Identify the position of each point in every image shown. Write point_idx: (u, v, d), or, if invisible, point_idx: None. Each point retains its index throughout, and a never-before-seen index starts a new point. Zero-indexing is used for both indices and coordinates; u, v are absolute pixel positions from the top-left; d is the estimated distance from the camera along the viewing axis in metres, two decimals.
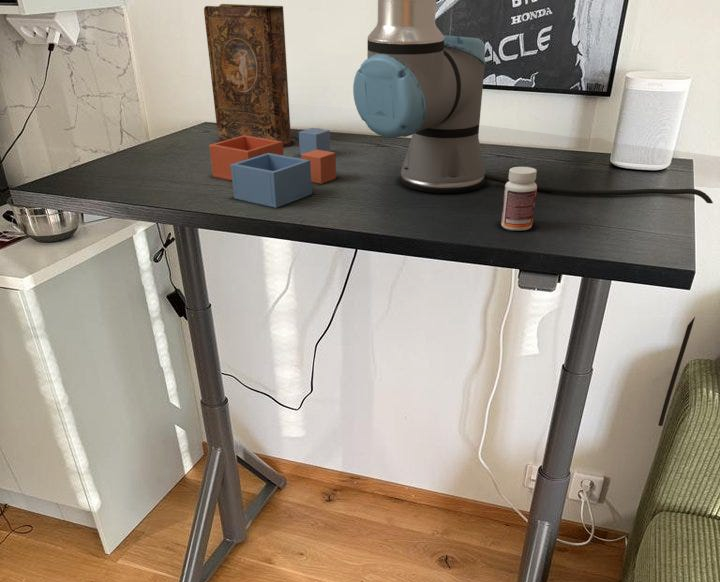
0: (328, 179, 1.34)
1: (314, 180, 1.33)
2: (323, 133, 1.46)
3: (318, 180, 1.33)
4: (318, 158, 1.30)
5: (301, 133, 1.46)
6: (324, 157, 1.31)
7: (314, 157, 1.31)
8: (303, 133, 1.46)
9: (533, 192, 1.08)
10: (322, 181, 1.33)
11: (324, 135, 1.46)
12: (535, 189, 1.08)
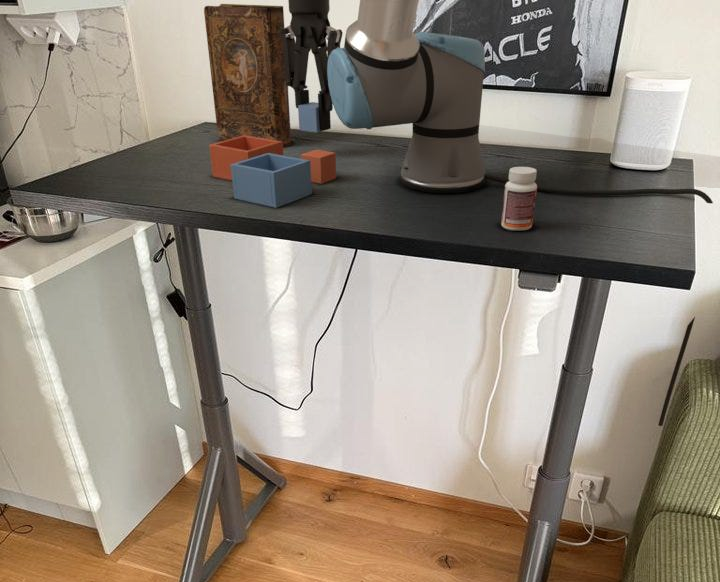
0: (328, 179, 1.34)
1: (314, 180, 1.33)
2: None
3: (318, 180, 1.33)
4: (318, 158, 1.30)
5: (300, 107, 1.43)
6: (324, 157, 1.31)
7: (314, 157, 1.31)
8: (302, 107, 1.43)
9: (533, 192, 1.08)
10: (322, 181, 1.33)
11: None
12: (535, 189, 1.08)
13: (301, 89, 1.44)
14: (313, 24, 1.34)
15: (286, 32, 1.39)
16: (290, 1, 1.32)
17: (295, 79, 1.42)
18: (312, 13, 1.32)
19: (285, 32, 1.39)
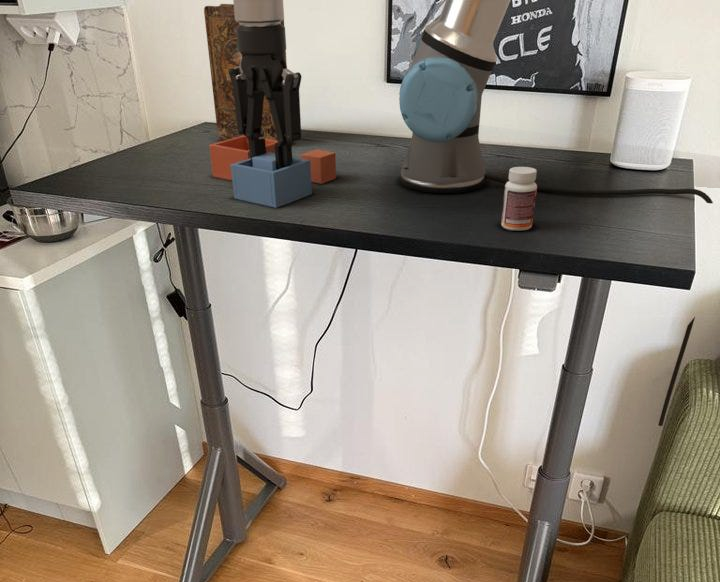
0: (328, 179, 1.34)
1: (314, 180, 1.33)
2: None
3: (318, 180, 1.33)
4: (318, 158, 1.30)
5: (255, 159, 1.22)
6: (324, 157, 1.31)
7: (314, 157, 1.31)
8: (257, 159, 1.22)
9: (533, 192, 1.08)
10: (322, 181, 1.33)
11: None
12: (535, 189, 1.08)
13: (256, 138, 1.23)
14: (266, 66, 1.13)
15: (236, 73, 1.17)
16: (238, 39, 1.11)
17: (248, 127, 1.21)
18: (264, 54, 1.11)
19: (235, 73, 1.17)
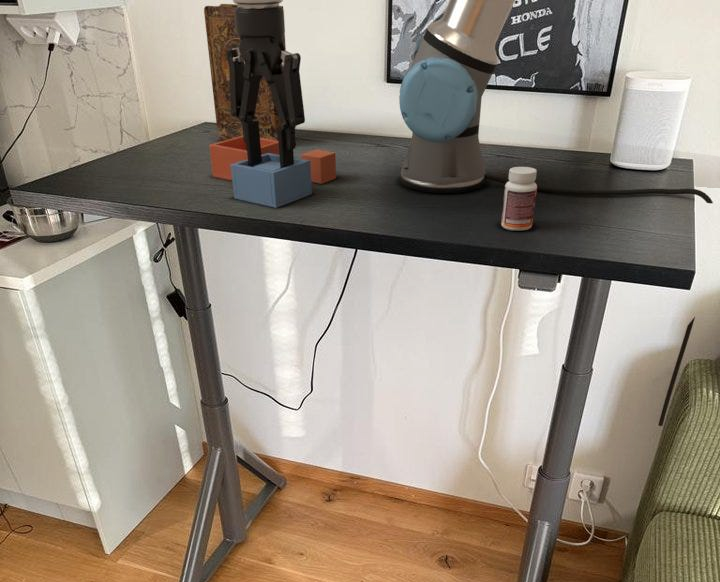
0: (328, 179, 1.34)
1: (314, 180, 1.33)
2: None
3: (318, 180, 1.33)
4: (318, 158, 1.30)
5: None
6: (324, 157, 1.31)
7: (314, 157, 1.31)
8: None
9: (533, 192, 1.08)
10: (322, 181, 1.33)
11: None
12: (535, 189, 1.08)
13: (249, 121, 1.22)
14: (264, 49, 1.12)
15: (234, 55, 1.16)
16: (236, 21, 1.09)
17: (242, 109, 1.20)
18: (263, 36, 1.09)
19: (232, 55, 1.16)
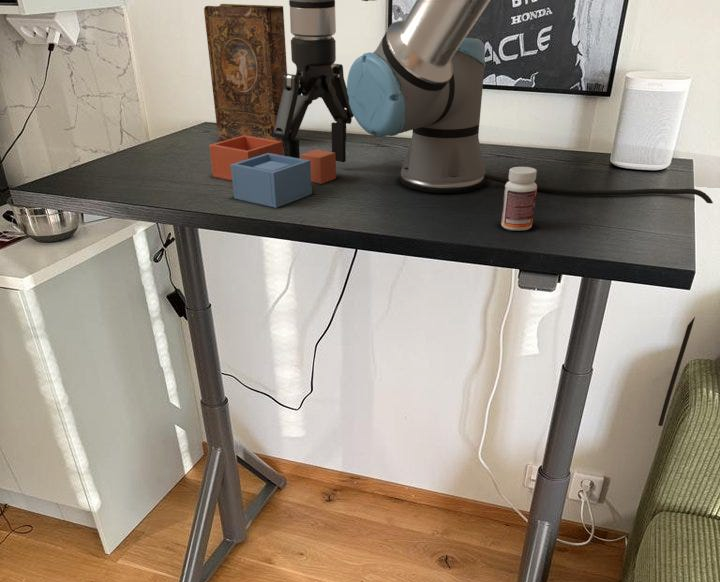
0: (328, 179, 1.34)
1: (314, 180, 1.33)
2: None
3: (318, 180, 1.33)
4: (318, 158, 1.30)
5: None
6: (324, 157, 1.31)
7: (314, 157, 1.31)
8: None
9: (533, 192, 1.08)
10: (322, 181, 1.33)
11: None
12: (535, 189, 1.08)
13: None
14: (324, 73, 1.25)
15: None
16: (323, 52, 1.20)
17: (295, 129, 1.24)
18: None
19: None
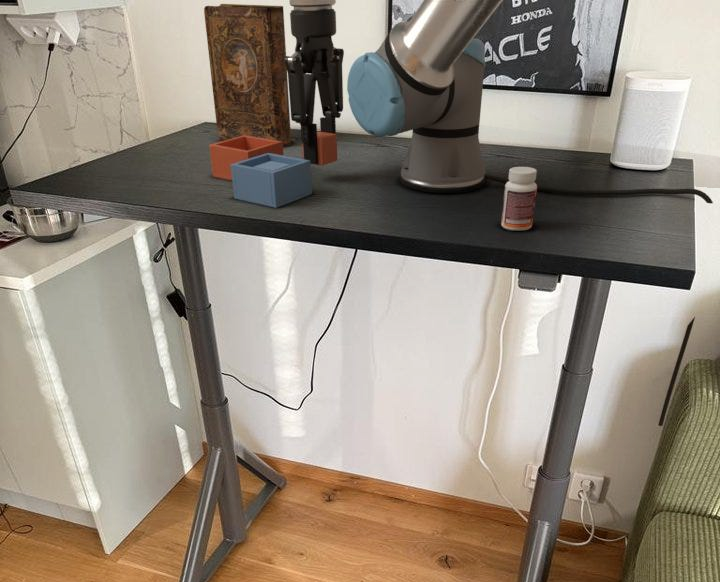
0: (329, 161, 1.32)
1: None
2: None
3: (319, 162, 1.30)
4: (319, 139, 1.28)
5: None
6: (325, 138, 1.29)
7: None
8: None
9: (533, 192, 1.08)
10: (323, 163, 1.30)
11: None
12: (535, 189, 1.08)
13: None
14: (325, 46, 1.23)
15: None
16: (323, 23, 1.17)
17: (311, 111, 1.25)
18: None
19: None
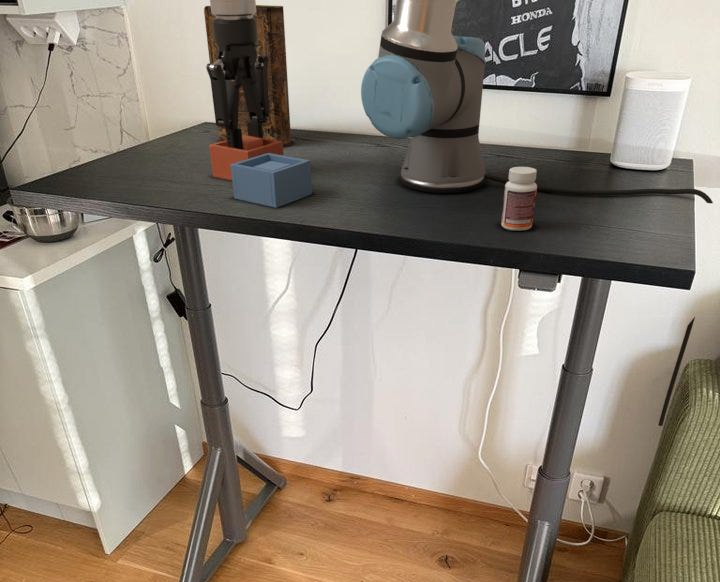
0: None
1: None
2: None
3: None
4: (244, 143, 1.32)
5: None
6: (250, 142, 1.33)
7: None
8: None
9: (533, 192, 1.08)
10: None
11: None
12: (535, 189, 1.08)
13: None
14: (248, 53, 1.26)
15: None
16: (243, 32, 1.21)
17: (235, 117, 1.29)
18: None
19: None
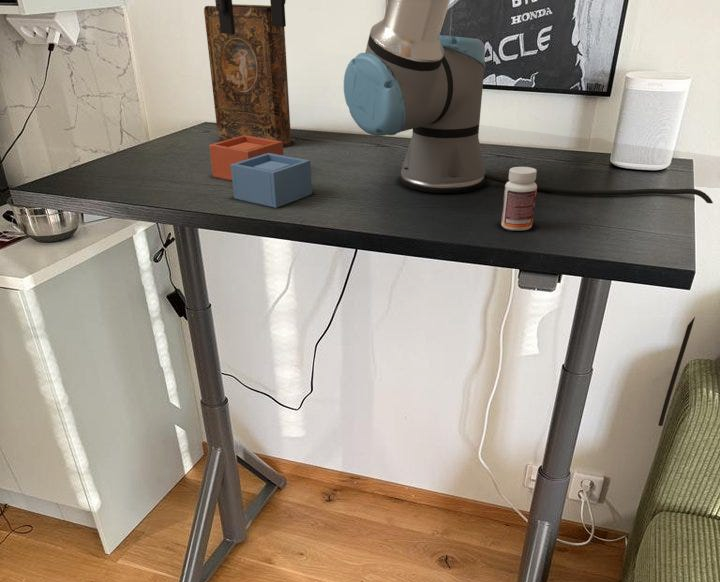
0: None
1: None
2: None
3: None
4: None
5: None
6: None
7: None
8: None
9: (533, 192, 1.08)
10: None
11: None
12: (535, 189, 1.08)
13: None
14: None
15: None
16: None
17: None
18: None
19: None
